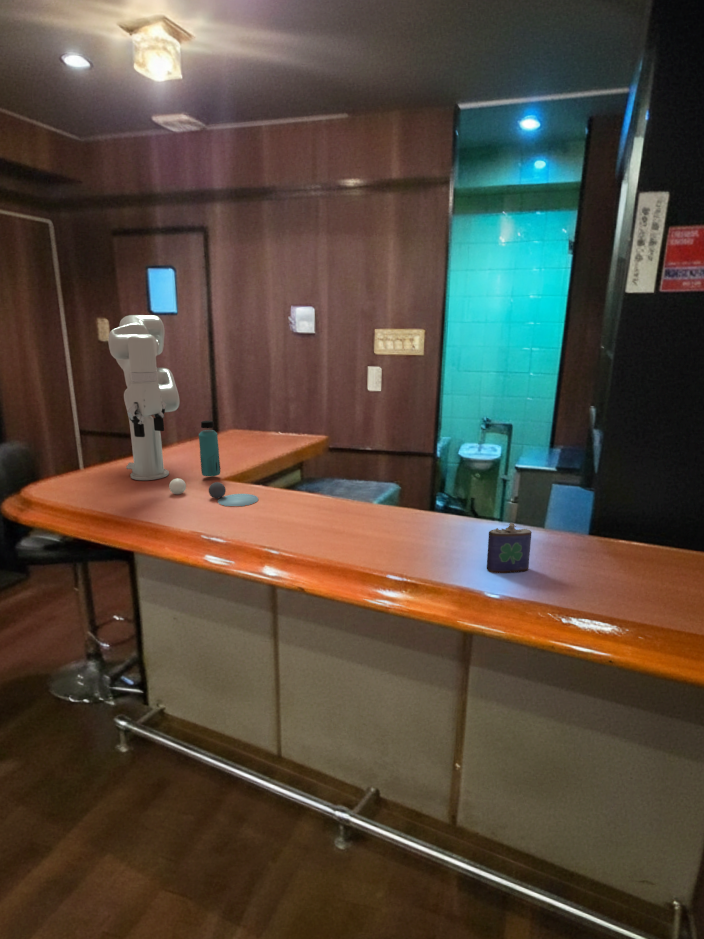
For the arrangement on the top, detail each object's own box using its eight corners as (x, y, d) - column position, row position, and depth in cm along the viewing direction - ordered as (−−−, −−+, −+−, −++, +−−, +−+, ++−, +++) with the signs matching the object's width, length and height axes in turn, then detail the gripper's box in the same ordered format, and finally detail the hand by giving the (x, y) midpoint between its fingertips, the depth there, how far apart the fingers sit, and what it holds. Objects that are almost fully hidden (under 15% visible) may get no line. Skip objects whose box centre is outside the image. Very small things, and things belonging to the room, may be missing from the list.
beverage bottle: (218, 480, 182) (214, 422, 177) (198, 480, 182) (194, 422, 177) (223, 475, 188) (219, 419, 183) (204, 475, 188) (200, 419, 183)
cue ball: (166, 495, 166) (165, 480, 165) (176, 491, 170) (174, 475, 169) (180, 497, 164) (179, 481, 163) (189, 492, 169) (188, 477, 168)
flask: (525, 566, 117) (529, 520, 114) (531, 572, 114) (535, 525, 111) (484, 568, 116) (487, 521, 113) (489, 574, 113) (492, 526, 111)
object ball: (206, 499, 162) (204, 484, 160) (214, 495, 166) (213, 479, 165) (220, 501, 160) (219, 485, 159) (229, 496, 165) (228, 481, 164)
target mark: (209, 504, 157) (209, 503, 157) (230, 492, 169) (230, 492, 168) (246, 508, 154) (246, 507, 154) (265, 496, 165) (265, 495, 165)
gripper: (151, 374, 170) (156, 427, 175) (114, 380, 154) (120, 438, 159) (172, 375, 168) (176, 429, 173) (136, 381, 152) (142, 440, 157)
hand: (149, 433), depth 166 cm, fingers open, 9 cm apart
